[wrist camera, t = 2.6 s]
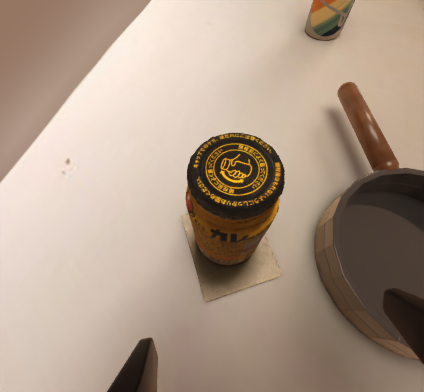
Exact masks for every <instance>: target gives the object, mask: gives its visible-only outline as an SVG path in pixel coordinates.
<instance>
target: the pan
mask: <svg viewBox="0 0 424 392" xmlns="http://www.w3.org/2000/svg"><path fill="white" fill-rule="evenodd" d="M315 258H316V262H317V267H318V270H319V273H320V276H321V279H322V281H323V283H324V286H325V288H326V290H327V292H328V293H329V295H330V297H331V298H332V300H333V302H334V303H335V304H336V306H337V307H338V308H339V310H340V311H341V312H342V313H343V315H344V316H345V317H346V318H347V319H348V320H349V321H350V322H351V323H352V324H353V325H354V326H355V327H356V328H357V329H359V330H360V331H361V332H362V333H363V334H364V335H366V336H367V337H369V338H370V339H372V340H373V341H374V342H376V343H377V344H379V345H381V346H383V347H385V348H387V349H388V350H390V351H393V352H395V353H397V354H399V355H401V356H405V357H409V358H413V359H417V360H420V359H419V358H418V357H417V356H416V355H415V353H414V352H413V351H412V349H411V348H410V347H409V345H408V344H407V343H406V341H405V340H404V339H403V337H402V336H401V335H400V333H399V332H398V330H397V329H396V328H395V326H394V325H393V324H392V322H391V321H390V320H389V318H388V317H387V315H386V314H385V313H384V311H383V308H382V303H383V295H384V291H385V290H387V289H391V288H398V289H400V290H403V291H405V292H408V293H410V294H413V295H415V296H418V297H420V298H422V299H424V171H421V170H416V169H410V168H398V169H397V170H387V169H386V170H378V171H376V172H373V173H371V174H369V175H366V176H364V177H362V178H359V179H357V180H356V181H355V182H354V183H353V184H352V185H351V186H350V187H349V188H348V189H347V190H345V191H344V192H343V193H342V194H341V195H340V196H339V197H338V198H337V199H336V200H335V201H334V202H333V203H332V204H331V205H330V206H329V207H328V208H327V209H326V210H325V212H324V214H323V215H322V217H321V219H320V221H319V224H318V226H317V230H316V235H315Z"/></svg>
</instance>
